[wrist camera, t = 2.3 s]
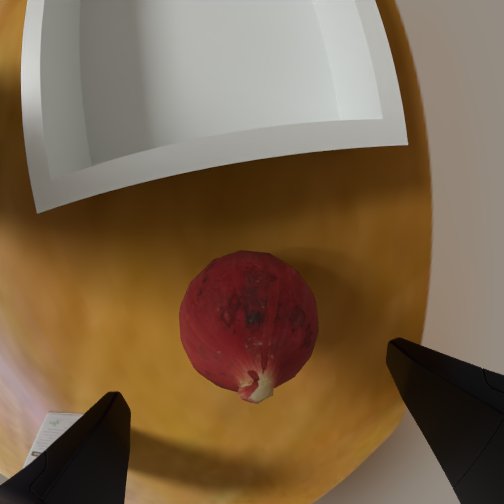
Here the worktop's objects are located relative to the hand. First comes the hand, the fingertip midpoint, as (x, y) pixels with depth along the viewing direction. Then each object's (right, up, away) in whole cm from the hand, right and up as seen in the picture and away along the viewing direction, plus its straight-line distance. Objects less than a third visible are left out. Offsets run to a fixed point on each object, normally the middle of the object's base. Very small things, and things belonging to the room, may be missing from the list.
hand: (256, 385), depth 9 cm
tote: (-3, +17, +3) cm, 17 cm away
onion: (-1, +2, +8) cm, 8 cm away
